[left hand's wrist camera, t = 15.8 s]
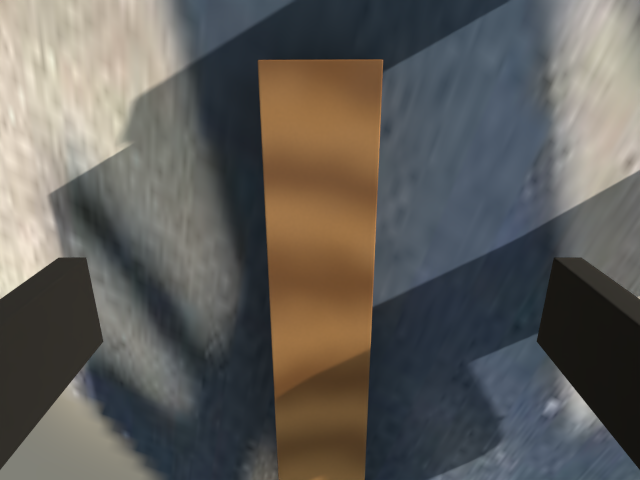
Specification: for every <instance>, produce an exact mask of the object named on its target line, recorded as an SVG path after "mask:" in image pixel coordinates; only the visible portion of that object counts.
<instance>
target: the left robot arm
mask: <svg viewBox="0 0 640 480" xmlns="http://www.w3.org/2000/svg"><path fill="white" fill-rule="evenodd" d="M102 342H103V338H102V333H101V328H100V323H99V318H98V313H97V309H96V304H95V299H94V294H93V289H92V284H91V279H90V274H89V270H88V265H87V260H86V258H58V259H56V260H55V261H53V262H52V263H51V264H49V265H48V266H46V267H45V268H44V269H42V270H41V271H39V272H38V273H37V274H35V275H34V276H32V277H31V278H29V279H28V280H27V281H25V282H24V283H22V284H21V285H20V286H18V287H17V288H15V289H14V290H13V291H11V292H10V293H8V294H7V295H6V296H4V297H3V298H1V299H0V469H1V468H2V467H3V466H4V464H5V463H6V462H7V461H8V459H9V458H10V457H11V456H12V454H13V453H14V452H15V451H16V450H17V448H18V447H19V446H20V444H21V443H22V442H23V441H24V440H25V438H26V437H27V436H28V435H29V433H30V432H31V431H32V430H33V428H34V427H35V426H36V425H37V423H38V422H39V421H40V420H41V418H42V417H43V416H44V415H45V413H46V412H47V411H48V410H49V408H50V407H51V406H52V405H53V403H54V402H55V401H56V400H57V398H58V397H59V396H60V395H61V393H62V392H63V391H64V390H65V388H66V387H67V386H68V385H69V383H70V382H71V381H72V380H73V378H74V377H75V376H76V375H77V374H78V372H79V371H80V370H81V369H82V367H83V366H84V365H85V364H86V362H87V361H88V360H89V359H90V357H91V356H92V355H93V354H94V352H95V351H96V350H97V349H98V347H99V346H100V345H101V344H102ZM537 342H538V344H539V345H540V346H541V347H542V349H543V350H544V351H545V352H546V354H547V355H548V356H549V357H550V359H551V360H552V361H553V362H554V364H555V365H556V366H557V367H558V369H559V370H560V371H561V372H562V374H563V375H564V376H565V377H566V378H567V380H568V381H569V382H570V383H571V385H572V386H573V387H574V388H575V390H576V391H577V392H578V393H579V395H580V396H581V397H582V398H583V400H584V401H585V402H586V403H587V405H588V406H589V407H590V408H591V410H592V411H593V412H594V413H595V415H596V416H597V417H598V418H599V420H600V421H601V422H602V423H603V425H604V426H605V427H606V428H607V430H608V431H609V432H610V433H611V435H612V436H613V437H614V438H615V440H616V441H617V442H618V443H619V445H620V446H621V447H622V448H623V450H624V451H625V452H626V453H627V454H628V456H629V457H630V458H631V459H632V461H633V462H634V463H635V464H636V466H637V467H638V468H639V469H640V299H639V298H637V297H636V296H634V295H633V294H632V293H630V292H629V291H627V290H626V289H625V288H623V287H622V286H620V285H619V284H618V283H616V282H615V281H613V280H612V279H611V278H609V277H608V276H606V275H605V274H603V273H602V272H601V271H599V270H598V269H596V268H595V267H594V266H592V265H591V264H589V263H588V262H587V261H585V260H584V259H582V258H554V260H553V265H552V270H551V274H550V279H549V284H548V289H547V294H546V299H545V304H544V309H543V313H542V318H541V323H540V328H539V333H538V338H537Z"/></svg>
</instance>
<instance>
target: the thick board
mask: <svg viewBox="0 0 640 480" xmlns="http://www.w3.org/2000/svg"><path fill="white" fill-rule="evenodd" d="M382 74H383V60H382V59H370V60H258V77H259V97H260V117H261V137H262V157H263V177H264V197H265V217H266V238H267V258H268V278H269V298H270V318H271V338H272V358H273V378H274V398H275V418H276V438H277V458H278V478H279V480H365V460H366V437H367V415H368V392H369V369H370V347H371V324H372V301H373V279H374V256H375V233H376V211H377V188H378V165H379V142H380V120H381V97H382Z"/></svg>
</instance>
